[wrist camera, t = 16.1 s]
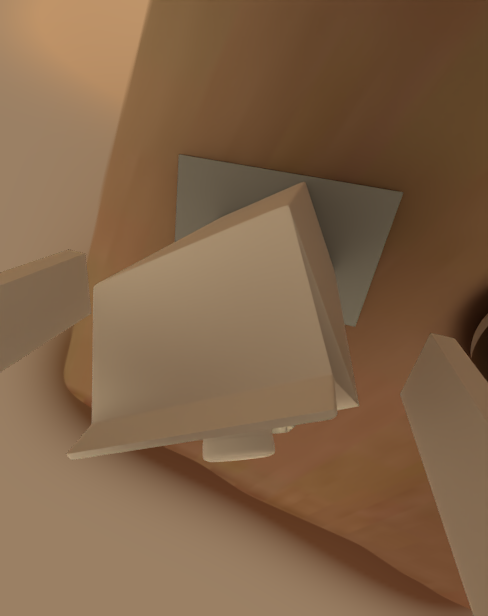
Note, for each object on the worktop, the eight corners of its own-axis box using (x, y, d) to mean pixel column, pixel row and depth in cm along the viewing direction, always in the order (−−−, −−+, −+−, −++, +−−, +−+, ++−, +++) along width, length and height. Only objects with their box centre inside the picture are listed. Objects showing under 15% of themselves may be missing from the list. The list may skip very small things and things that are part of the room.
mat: (401, 191, 21) (403, 192, 20) (354, 323, 26) (355, 326, 25) (182, 154, 23) (178, 154, 22) (175, 283, 28) (172, 285, 27)
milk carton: (217, 218, 24) (-22, 345, 7) (305, 180, 21) (266, 231, 5) (251, 298, 26) (134, 542, 9) (335, 272, 24) (383, 536, 7)
